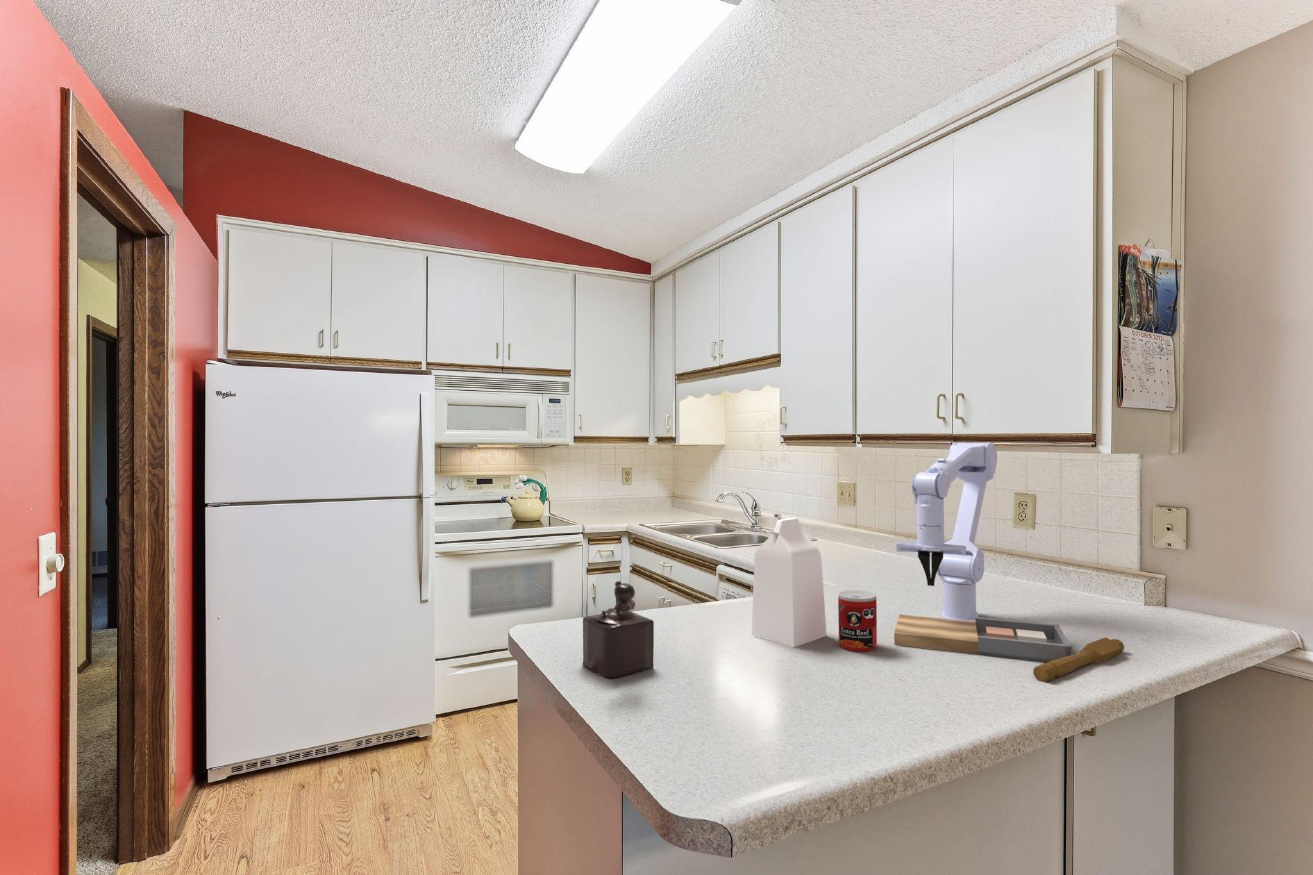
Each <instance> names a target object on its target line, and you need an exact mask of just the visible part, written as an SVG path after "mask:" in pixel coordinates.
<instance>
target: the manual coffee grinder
mask: <svg viewBox="0 0 1313 875" xmlns="http://www.w3.org/2000/svg"><path fill="white" fill-rule="evenodd" d="M614 586H615V587H614V589H613V593H614V597H615V605H614V607H609V608H608V609H606V610H601V613H599V614H594V615H589V616H588V615H587V616H583V618H582V655H583V656H582V665H583V666H584V665H585V666H584V667H586V668H587V669H589V670H590V671H591V672H594V673H595V674H598V675H600V676H603V677H605V678H608V679H616V678H617V679H618V678H623V676H624V677H628V676H631V674H632V675H635V673H636V674H638V673H637V672H640V673H642V671H643V672H645V671H644V670H646V671H649V670H652V669H653V668H654V646H655V645H654V644H655V640H654V639H655V638H654V637H655V633H654V630H655V629H654V627H655V626H654V625H655V624H654V622H655V620H652V619H650V618H648V617H646V616H643V615H640V614H638V613H636V612H633V611H631V610H633V609H636V603H635V600H633V598H634V597H635V596H636V591H635V588H634V586H633V585H631V584H629V583H626V582H625V583H623V582H622V581H620V580H617V581H615V583H614ZM651 668H652V669H651ZM648 669H649V670H648Z"/></svg>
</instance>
